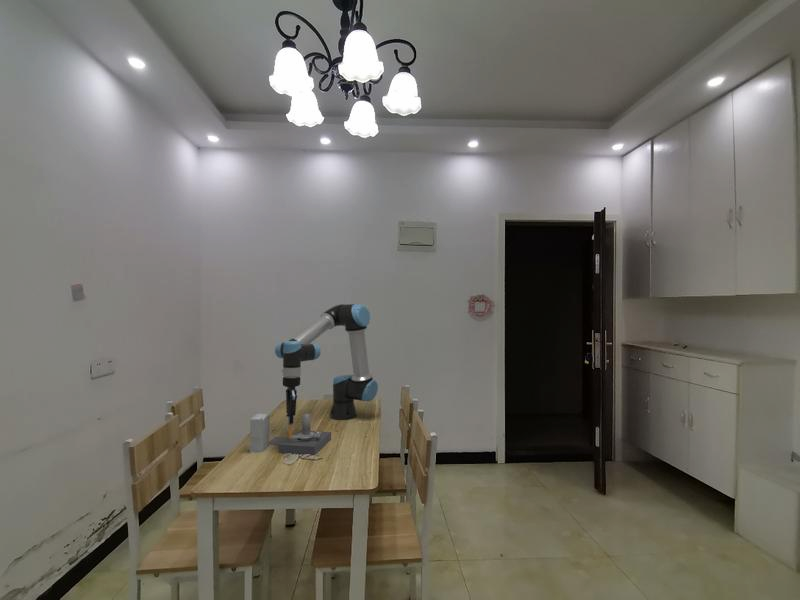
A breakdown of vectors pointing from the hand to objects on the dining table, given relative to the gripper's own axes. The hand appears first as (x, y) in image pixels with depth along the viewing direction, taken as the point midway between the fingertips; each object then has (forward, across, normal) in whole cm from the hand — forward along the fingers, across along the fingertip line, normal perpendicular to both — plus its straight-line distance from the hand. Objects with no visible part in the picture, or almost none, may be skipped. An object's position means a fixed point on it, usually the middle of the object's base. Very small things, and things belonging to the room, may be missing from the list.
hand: (290, 430), depth 174 cm
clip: (+2, +2, +6) cm, 7 cm away
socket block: (+8, 0, +7) cm, 11 cm away
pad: (+8, -12, -2) cm, 15 cm away
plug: (+8, 0, +7) cm, 10 cm away
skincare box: (+9, -5, -12) cm, 16 cm away
